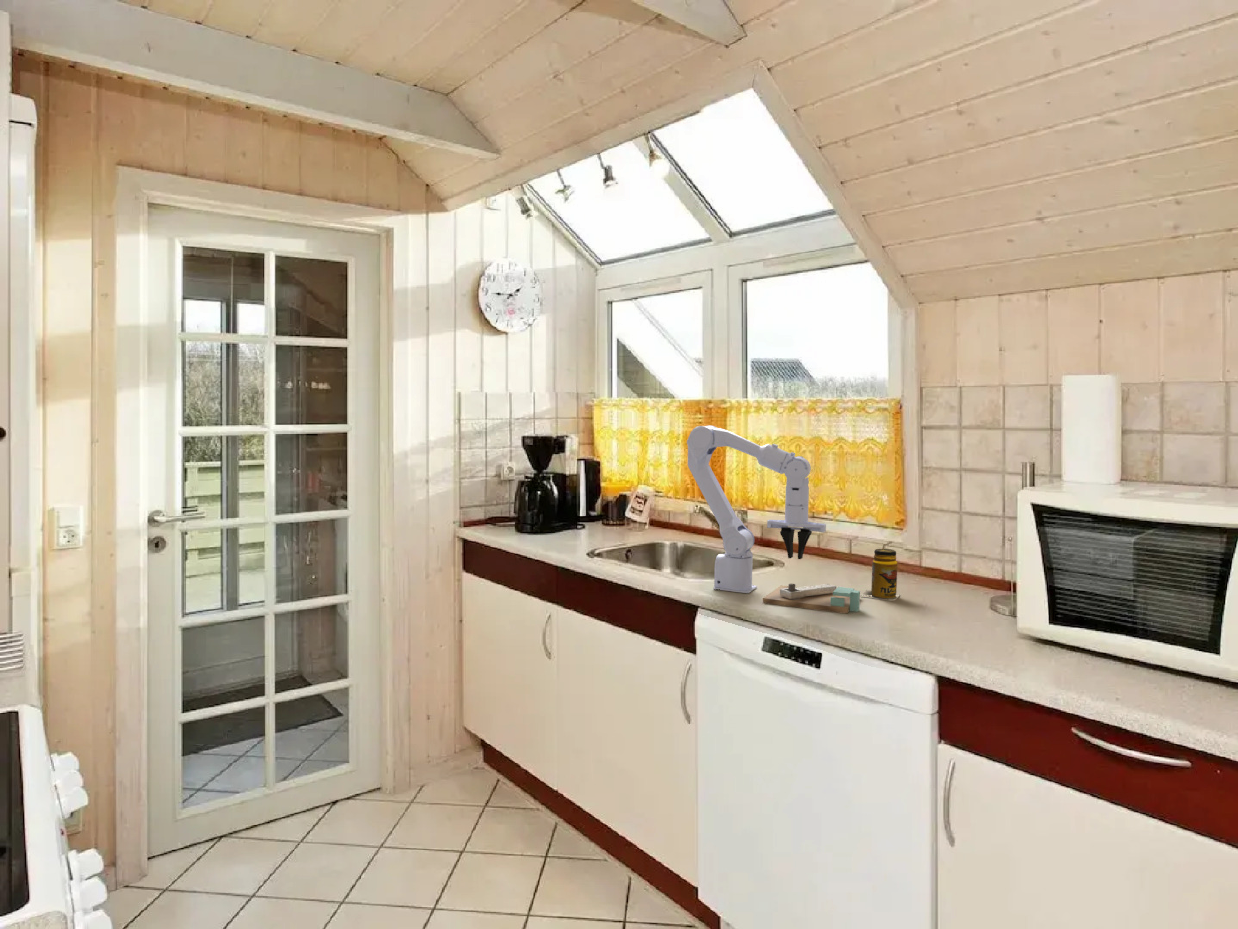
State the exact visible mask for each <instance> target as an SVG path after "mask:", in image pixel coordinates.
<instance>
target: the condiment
mask: <svg viewBox="0 0 1238 929" xmlns="http://www.w3.org/2000/svg"><path fill="white" fill-rule="evenodd" d="M871 565H872V567H871V590H868V589H866V590H865V591H864V592H863V593H862V594H861V595H862V596H861V595H860V598H861V597H862V598H869V599H876V600H883V601H891V602H895V601H896V600H897V599H899V597H900V594H897V591H898V590H897V588H898V587H897V584H898V566H899V565H898V561H897V551H896V550H895V549H890V548H876V549H874V555H873V560H872V564H871ZM863 595H865V596H863ZM867 595H872V597H869V596H867ZM873 597H874V598H873Z"/></svg>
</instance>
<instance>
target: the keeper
mask: <svg viewBox="0 0 1238 929" xmlns="http://www.w3.org/2000/svg"><path fill="white" fill-rule="evenodd" d="M833 595H836V596H845V597H850V610H849V612H854V613H855V612H857V613H858V612H859V610H860V605H861V604H860V602H861V601H860V600H861V597H860V596H861V590H855V588H852V587H843V586H837V587H836V589H835V590H834V591H833ZM844 601H845V598H837V597H831V604H830V605H832V606H840V607H844Z"/></svg>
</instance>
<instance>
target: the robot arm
mask: <svg viewBox="0 0 1238 929" xmlns="http://www.w3.org/2000/svg"><path fill="white" fill-rule="evenodd" d="M687 438H688V439H686V445H687V467H688V469H689V471H690V474H691V475H692V476H693V479H694V480H695V483H696V484H697V486H698V488H699V489H700V492H701V493H702V495H703V497H704V499H705V501H706V503H707V505H708V507H709V509H710V510H711V512H712V515H713V516H714V518H715V521H717V524H718V525H719V534H720V536H721V538H722V544H723V545H722V546H723V549H724V551H725V552H724V553H719V554H717V555H716V558H715V561H714V578H713V579H714V581H713V582H714V583H713V584H714V586H713V587H712V589H713V590H716V589H720V590H719V591H726V592H733V593H734V592H736V593H743V594H749V593H751V592H752V591H754V590H755V589H757V588H758V586H757V585H755V584H754V585H753V559H754V558H753V557H754V556H753V555H754V554H753V552H752V550H751V549H752V548H753V546H754V545H755V536H754V533H753V532H752V530H750V529H748V528H747V527H746V525H745V524H744V522H743V520H741V519H740V518H739V517H738V516H737V514H736V512H735V511H734V509H733V507H732V505H731V503H730V502H729V499H728V497H727V495H726V494H725V492H724V490H723V489H722V486H721V484H720V482H719V480H718V479H717V477H716V475H715V473H714V471H713V470H712V467H711V466H710V461H711V458H712V455H713V453H714V452H715V450H716V449H717V448H720V447H721V448H722V447H729V448H731V449H734V450H737V451H740V452H741V453H744V454H746V455H749V456H752V457H755V458H756V460H757V463H758V465H760V466H761V467H762V466H763V467H764V468H766V469H768V470H771V471H774V472H776V473H779V475H782V474H784V476H785V478H786V482H785V483H786V486H785V497H784V498H785V501H784V502H785V503H784V504H785V505H784V519H768V520H766V523H767V524H766V528H768V529H780V531H779V533H780V536H781V538H782V540H783V543H784V545H785V549H786V553H787V558H788V559H792V558H793V557H794V539H795V538H794V536H795V532H796V531H797V542H798V544H797V560H802V559H803V556H804V552H805V548H806V545H807V543H808V541H809V539H810V537H811V535H812V532H819V533H825V532H826V531H827V523H821V522H820V523H819V522H814V521H812V522H811V521H809V501H810V500H809V499H810V498H809V497H810V487H809V484H810V483H809V482H810V480H809V477H808V476H809V475H810V473H811V468H812V467H811V463H810V461H808V459H806V458H804V456H802V455H801V456H799V455H798V456H796V453H795V452H791V451H790V452H788V451H787V450H786V451H785V450H783V449H782V448H779V445H778V444H775V443H772V444H769V443H767V444H765V445H762V446H761V445H759V444H757V443H755V442H753V441H752V440H749V439H748V438H745V437H743V436H740V435H738V434H736V433H735V432H732V431H730V430H727V429H724V428H720V427H716V426H715V425H711V424H710V425H697V426H696V427H694V428H693V429H692V430H691V431H690V433H689V436H688V437H687ZM795 530H796V531H795Z"/></svg>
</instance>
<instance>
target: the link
mask: <svg viewBox="0 0 1238 929" xmlns="http://www.w3.org/2000/svg"><path fill="white" fill-rule="evenodd" d="M796 587H797V588H795V591H793V592H790V591H788V588H784V589H780V596H783V597H786V598H789V599H795V598H802V597H805V596H813V595H821V594H828V593H833V591H834V590H835V589H836V588H837V585H834V584H830V583H822V584H816V585H806V586H799V587H798V586H796Z"/></svg>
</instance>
